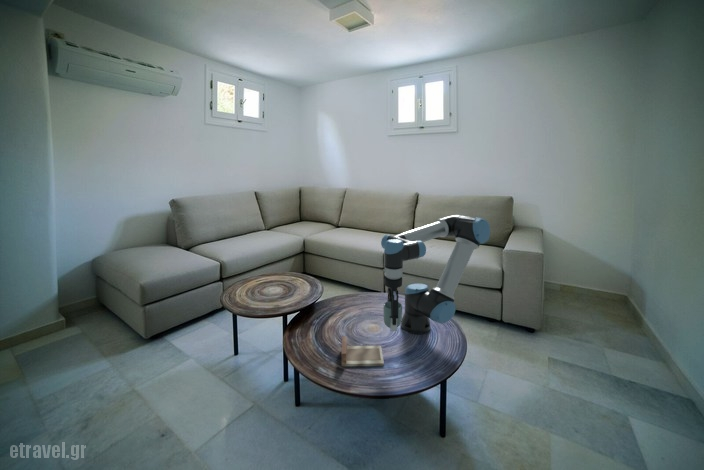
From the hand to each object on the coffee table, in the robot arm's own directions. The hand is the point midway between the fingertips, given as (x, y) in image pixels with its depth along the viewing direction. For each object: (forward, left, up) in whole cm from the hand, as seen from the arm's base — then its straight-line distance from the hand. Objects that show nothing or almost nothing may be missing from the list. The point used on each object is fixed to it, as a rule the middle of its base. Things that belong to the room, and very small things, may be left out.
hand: (392, 325), depth 132 cm
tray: (+13, 0, -15) cm, 20 cm away
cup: (0, 0, 0) cm, 0 cm away
